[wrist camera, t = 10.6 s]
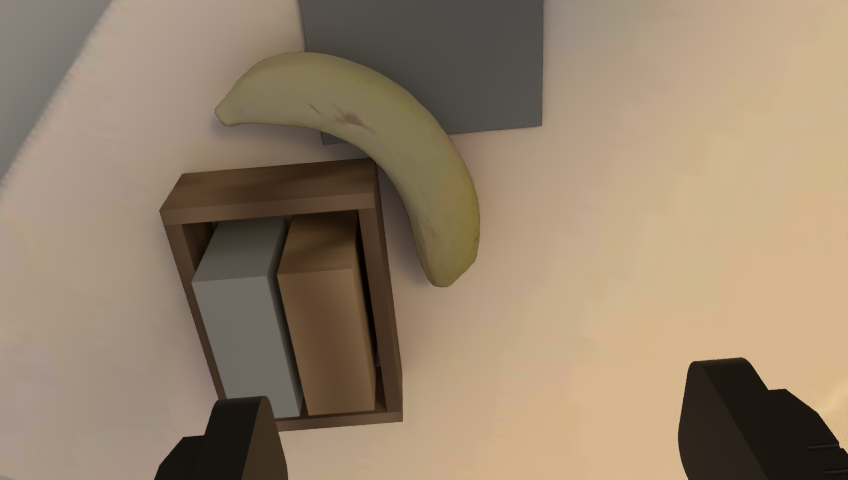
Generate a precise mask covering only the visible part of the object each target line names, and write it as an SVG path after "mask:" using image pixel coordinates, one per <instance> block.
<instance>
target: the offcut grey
mask: <svg viewBox="0 0 848 480" xmlns="http://www.w3.org/2000/svg"><path fill="white" fill-rule="evenodd" d="M287 236H288V230H287V225H286V220H285V215H282V216H270V217H259V218H247V219H235V220H223V221H219V223H218V225H217V227H216V230H215V232H214V234H213V236H212V238H211V240H210V243H209V245H208V247H207V249H206V251H205V254H204V256H203V258H202V260H201V262H200V264H199V267H198V269H197V271H196V273H195V275H194V278H193V280H192V282H191V283H192V286H193V289H194V293H195V296H196V299H197V302H198V306H199V309H200V312H201V315H202V319H203V322H204V325H205V329H206V332H207V335H208V338H209V342H210V345H211V348H212V351H213V355H214V358H215V361H216V364H217V368H218V371H219V374H220V377H221V381H222V384H223V387H224V390H225V394H226V397H227V399H231V398H243V397H255V396H267V397H268V398H269V400H270V403H271V406H272V410H273V414H274V418H285V417H297V416H300V411H301V405H302V399H303V393H304V392H303V388H302V383H301V379H300V374H299V370H298V366H297V361H296V357H295V352H294V348H293V344H292V339H291V335H290V330H289V326H288V322H287V317H286V313H285V309H284V304H283V300H282V295H281V291H280V287H279V282H278V278H277V273H278V269H279V265H280V262H281V258H282V254H283V251H284V247H285V244H286V240H287Z"/></svg>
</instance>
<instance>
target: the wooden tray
mask: <svg viewBox="0 0 848 480" xmlns="http://www.w3.org/2000/svg"><path fill="white" fill-rule="evenodd" d="M353 209H358V212H359V219H360V226H361V233H362V240H363V247H364V254H365V261H366V268H367V274H368V281H369V288H370V295H371V302H372V309H373V316H374V323H375V330H376V337H377V344H378V351H379V358H380V364H381V366H378V367H376V384H375V409H374V410H370V411H358V412H345V413H333V414H321V415H309V414H308V410H307V405H306V401H305V396H304V393H303V399H302V405H301V411H300V416H297V417H285V418H275V422H276V425H277V429H278V432H281V431H293V430H305V429H318V428H330V427H342V426H355V425H367V424H379V423H392V422H403V394H402V368H401V360H400V352H399V344H398V336H397V327H396V319H395V311H394V303H393V295H392V287H391V279H390V271H389V263H388V255H387V247H386V239H385V231H384V223H383V215H382V207H381V199H380V191H379V182H378V174H377V166H376V162H375V161H374V160H373V159H372V158H363V159H351V160H339V161H328V162H316V163H304V164H292V165H281V166H269V167H257V168H246V169H234V170H222V171H210V172H199V173H187V174H182V175H181V177H180V179H179V180H178V182H177V183H176V185H175V187H174V188H173V190H172V191H171V193H170V194H169V196H168V198H167V199H166V201H165V202H164V204H163V205H162V207H161V209H160V210H159V211H160V215H161V218H162V221H163V224H164V227H165V230H166V234H167V237H168V240H169V243H170V246H171V249H172V253H173V256H174V259H175V262H176V265H177V269H178V272H179V275H180V278H181V281H182V284H183V288H184V291H185V294H186V297H187V300H188V303H189V307H190V310H191V313H192V316H193V319H194V322H195V326H196V329H197V332H198V335H199V338H200V341H201V345H202V348H203V351H204V354H205V357H206V360H207V364H208V367H209V370H210V373H211V376H212V380H213V383H214V386H215V389H216V392H217V395H218V399H227V397H226V394H225V390H224V387H223V384H222V381H221V377H220V374H219V371H218V368H217V364H216V361H215V358H214V355H213V351H212V348H211V345H210V342H209V338H208V335H207V332H206V329H205V325H204V322H203V319H202V315H201V312H200V309H199V306H198V302H197V299H196V296H195V293H194V289H193V286H192V283H191V282H192V280H193V278H194V275H195V273H196V271H197V269H198V267H199V264H200V262H201V260H202V258H203V256H204V254H205V251H206V249H207V247H208V245H209V243H210V240H211V238H212V236H213V234H214V230H213V226H212V222H211V221H223V220H235V219H247V218H259V217H270V216H282V215H294V214H306V213H318V212H330V211H341V210H353Z"/></svg>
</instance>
